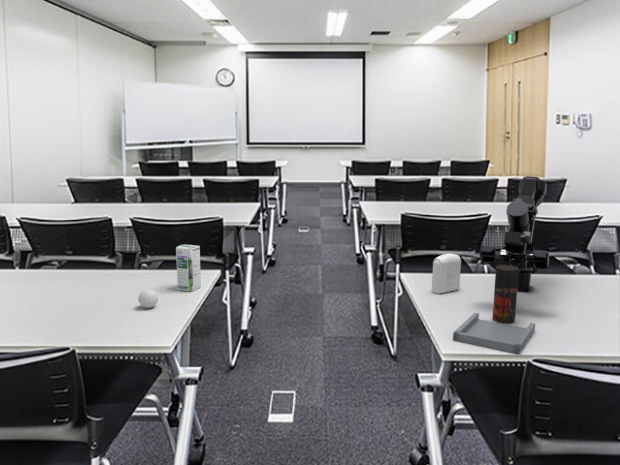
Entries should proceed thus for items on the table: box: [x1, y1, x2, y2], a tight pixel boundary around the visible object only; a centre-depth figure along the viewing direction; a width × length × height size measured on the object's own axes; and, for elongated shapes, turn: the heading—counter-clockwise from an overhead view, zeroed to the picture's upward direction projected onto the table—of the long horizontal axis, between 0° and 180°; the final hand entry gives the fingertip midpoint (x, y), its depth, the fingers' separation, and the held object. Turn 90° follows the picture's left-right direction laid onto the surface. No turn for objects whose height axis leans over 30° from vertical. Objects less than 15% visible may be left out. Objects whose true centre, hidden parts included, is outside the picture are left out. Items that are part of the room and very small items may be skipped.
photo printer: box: [431, 253, 462, 294], centre depth 179 cm, size 10×4×12 cm, turn 123°
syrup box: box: [175, 244, 202, 292], centre depth 181 cm, size 6×6×14 cm
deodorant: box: [492, 264, 519, 325], centre depth 152 cm, size 6×6×15 cm
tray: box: [452, 312, 536, 355], centre depth 142 cm, size 18×16×2 cm
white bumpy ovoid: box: [137, 288, 159, 309], centre depth 163 cm, size 8×6×6 cm
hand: (509, 281), depth 156 cm, fingers closed
